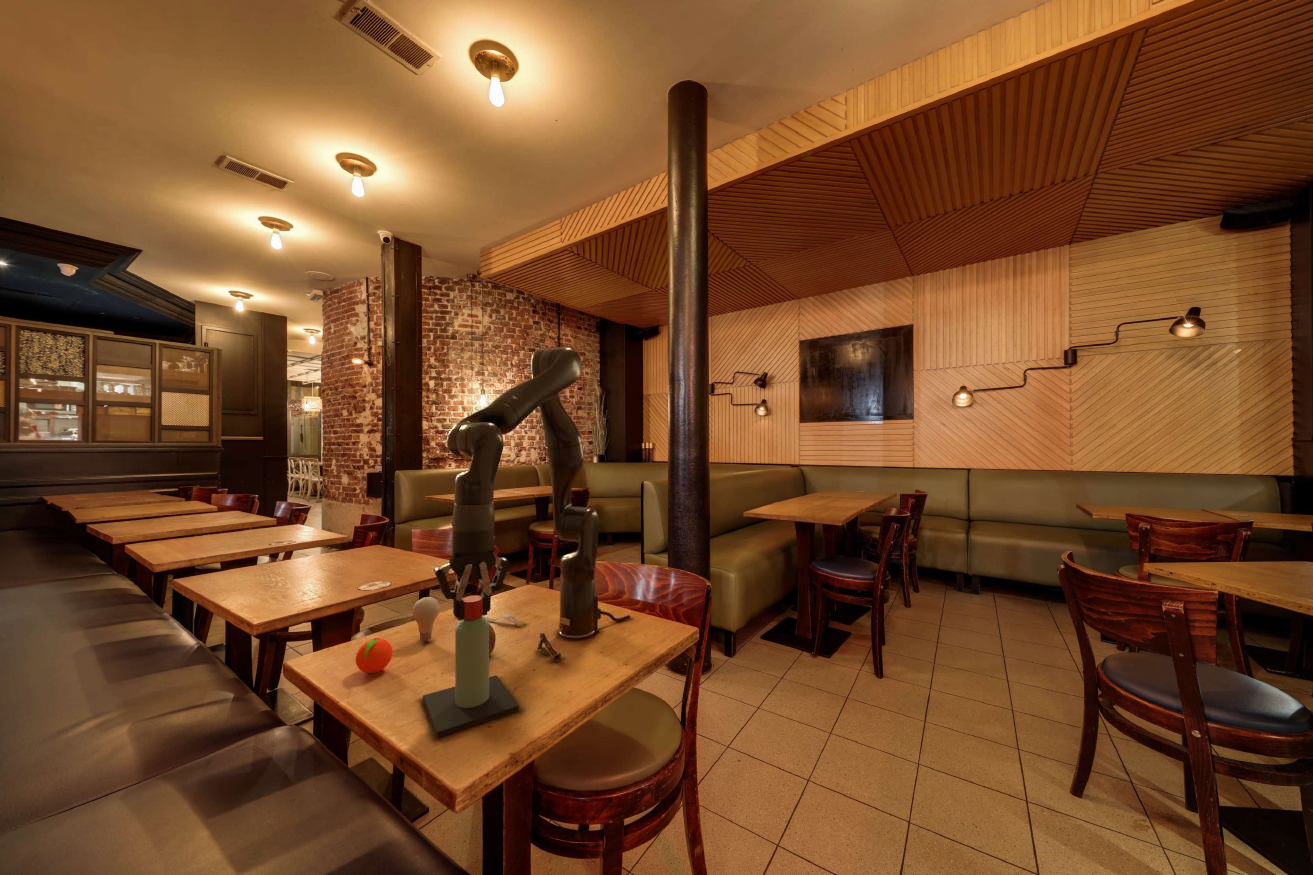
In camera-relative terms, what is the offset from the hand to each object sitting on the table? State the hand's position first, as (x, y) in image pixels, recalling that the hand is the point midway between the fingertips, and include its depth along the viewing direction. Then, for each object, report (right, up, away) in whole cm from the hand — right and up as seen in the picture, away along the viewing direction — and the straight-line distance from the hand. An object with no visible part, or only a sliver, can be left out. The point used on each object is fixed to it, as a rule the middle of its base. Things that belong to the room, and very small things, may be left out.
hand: (472, 615), depth 87 cm
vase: (-6, -17, +20) cm, 27 cm away
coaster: (0, -17, -1) cm, 17 cm away
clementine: (-26, -17, +12) cm, 33 cm away
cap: (0, 0, 0) cm, 0 cm away
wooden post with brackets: (+10, -18, +20) cm, 28 cm away
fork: (-12, -18, +42) cm, 47 cm away
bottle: (0, -16, 0) cm, 16 cm away
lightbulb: (-23, -17, +28) cm, 40 cm away
